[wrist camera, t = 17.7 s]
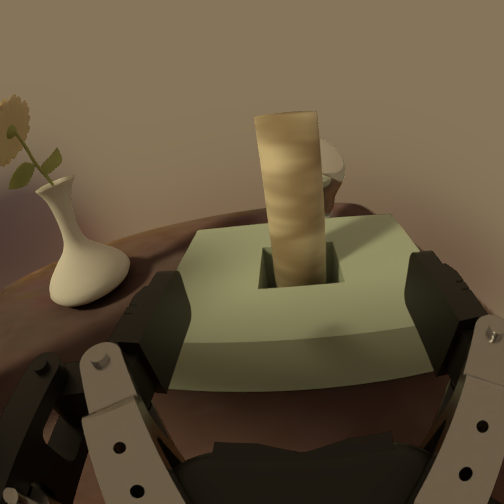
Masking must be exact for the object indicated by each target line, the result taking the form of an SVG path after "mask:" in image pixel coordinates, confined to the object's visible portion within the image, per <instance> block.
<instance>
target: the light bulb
mask: <svg viewBox="0 0 504 504" xmlns="http://www.w3.org/2000/svg"><path fill="white" fill-rule="evenodd" d="M320 150H321V163H322V177H323V193H324V213H325V218H332V212H331V210H332V209H333V206H334V199H335V196H336V193H337V192H338V190H339V188H340V186H341V185H342V182H343V180H344V176H345V163H344V160H343V157H342V155H341V153H340V152H339V150H338V149H337V148H336V147H335V146H334V145H332V144H331V143H329V142H327V141H325V140H321V139H320Z"/></svg>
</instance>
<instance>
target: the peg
mask: <svg viewBox="0 0 504 504" xmlns="http://www.w3.org/2000/svg"><path fill="white" fill-rule="evenodd" d="M254 121H255V128H256V134H257V142H258V149H259V156H260V163H261V171H262V179H263V186H264V194H265V202H266V209H267V217H268V225H269V233H270V241H271V249H272V257H273V266H274V274H275V283H276V288H282V287H295V286H308V285H319V284H326V240H325V213H324V193H323V177H322V163H321V150H320V139H319V129H318V118H317V112H316V111H298V112H285V113H275V114H267V115H261V116H257V117H254Z"/></svg>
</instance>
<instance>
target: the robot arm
mask: <svg viewBox="0 0 504 504" xmlns="http://www.w3.org/2000/svg"><path fill="white" fill-rule="evenodd" d="M404 299H405V304H406V307H407V309H408V312H409V314H410V316H411V318H412V320H413V323H414V325H415V327H416V329H417V331H418V334H419V336H420V338H421V341H422V343H423V345H424V348H425V350H426V353H427V355H428V357H429V360H430V362H431V365H432V367H433V370H434V372H435V375H436V377H437V376H441V375H445V374H448V375H449V377H450V381H449V382H448V385H447V387H446V390H445V392H444V395H443V398H442V400H441V403H440V405H439V408H438V410H437V413H436V415H435V417H434V420H433V422H432V424H431V427H430V429H429V431H428V433H427V435H426V436H425V438H424V440H423V441H422V443H421V445H420V446H419V447H417V446H414V445H410V444H406V443H400V442H393V438H392V433H391V431H390V432H385V433H380V434H374V435H368V436H361V437H354V438H348V439H345V440H343V441H340V442H337V443H334V444H331V445H328V446H325V447H321V448H318V449H315V450H311V451H308V452H296V451H291V450H285V449H280V448H275V447H271V446H266V445H261V444H252V443H224V442H214V448H213V453H207V454H203V455H199V456H196V457H193V458H191V459H188V460H186V461H185V459H184V458H183V456H182V455H181V453H180V452H179V450H178V449H177V447H176V446H175V444H174V442H173V441H172V439H171V437H170V435H169V433H168V431H167V429H166V427H165V425H164V423H163V421H162V419H161V417H160V415H159V413H158V411H157V409H156V407H155V405H154V403H153V401H152V397H153V394H154V392H156V393H166V394H167V391H168V388H169V385H170V382H171V379H172V376H173V373H174V370H175V367H176V364H177V361H178V358H179V355H180V352H181V349H182V346H183V343H184V340H185V337H186V334H187V331H188V328H189V325H190V322H191V306H190V302H189V299H188V296H187V293H186V290H185V286H184V283H183V280H182V277H181V274H180V272H179V271H177V270H176V271H161V272H157V273H156V274H155V276H154V277H153V279H152V281H151V282H150V284H149V286H145V287H144V288H142V289H141V290H140V291H139V292H138V293H137V294H135V296H134V297H133V299H132V301H131V302H130V304H129V307H127V309H126V311H125V312H124V315H123V316H122V317H121V319H120V321H119V322H118V324H117V326H116V328H115V329H114V331H113V333H112V335H111V336H110V338H109V340H108V342H103V343H99V344H97V345H94V346H93V347H91V348H90V349H88V350H87V351H86V352H85V353H84V355H83V356H82V358H81V360H80V361H77V362H71V363H65V364H63V363H62V361H61V360H60V359H59V357H58V356H57V355H56V354H55V353H52V352H47V353H43V354H41V355H39V356H37V357H36V358H35V359H34V360H33V361H32V362H31V363H30V365H29V366H28V368H27V369H26V371H25V373H24V375H23V376H22V378H21V380H20V381H19V383H18V385H17V387H16V389H15V390H14V392H13V394H12V396H11V398H10V400H9V402H8V403H7V405H6V407H5V409H4V411H3V413H2V415H1V417H0V504H73V501H74V497H75V494H76V490H77V487H78V483H79V480H80V476H81V473H82V470H83V467H84V463H85V460H86V457H87V454H88V451H89V454H90V457H91V461H92V464H93V467H94V471H95V474H96V477H97V480H98V483H99V486H100V489H101V492H102V494H103V497H104V500H105V502H106V504H501V503H499V502H498V501H497V500H495V499H494V498H492V497H491V493H492V490H493V488H494V485H495V482H496V479H497V476H498V474H499V470H500V467H501V464H502V461H503V458H504V319H503V318H501V317H499V316H495V315H488V314H487V312H486V311H485V309H484V308H483V307H482V305H481V304H480V302H479V301H478V299H477V298H476V297H475V295H474V294H473V292H472V291H471V290H469V287H468V286H467V284H466V283H465V282H463V279H462V278H461V276H460V275H459V274H458V272H457V271H456V270H454V269H453V268H451V267H450V266H449V265H447V264H442V262H441V261H440V260H439V258H438V257H437V256H436V255H435V253H434V252H433V251H422V252H412V253H411V255H410V258H409V264H408V271H407V277H406V283H405V289H404ZM52 408H53V409H54V410H55V411H56V412H57V413H58V414H59V415H60V416H59V418H58V420H57V423H56V425H55V427H54V430H53V432H52V435H51V437H50V440H49V442H48V445H47V444H46V443H45V441H44V439H43V429H44V426H45V424H46V422H47V420H48V417H49V415H50V413H51V411H52Z"/></svg>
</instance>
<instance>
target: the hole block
mask: <svg viewBox="0 0 504 504" xmlns="http://www.w3.org/2000/svg"><path fill="white" fill-rule="evenodd" d="M325 240H326V284H319V285H308V286H295V287H282V288H276V283H275V274H274V266H273V257H272V249H271V241H270V233H269V225H268V223H266V224H255V225H245V226H235V227H225V228H215V229H205V230H198V231H197V233H196V235H195V237H194V238H193V240H192V242H191V244H190V246H189V248H188V249H187V251H186V253H185V255H184V257H183V259H182V261H181V262H180V264H179V266H178V268H177V271H179V272H180V274H181V277H182V280H183V283H184V286H185V290H186V293H187V296H188V299H189V302H190V306H191V322H190V325H189V328H188V331H187V334H186V337H185V340H184V343H183V346H182V349H181V352H180V355H179V358H178V361H177V364H176V367H175V370H174V373H173V376H172V379H171V382H170V385H169V388H168V389H177V390H193V391H218V392H266V391H291V390H307V389H320V388H331V387H341V386H349V385H357V384H365V383H372V382H379V381H385V380H391V379H397V378H402V377H408V376H413V375H418V374H423V373H428V372H432V371H434V370H433V367H432V365H431V362H430V360H429V357H428V355H427V353H426V350H425V348H424V345H423V343H422V341H421V338H420V336H419V334H418V331H417V329H416V327H415V325H414V323H413V320H412V318H411V316H410V314H409V312H408V309H407V307H406V304H405V299H404V289H405V283H406V277H407V271H408V264H409V258H410V255H411V253H412V252H420V251H419V249H418V248H417V247H416V245H415V244H414V243H413V241H412V240H411V239H410V237H409V236H408V235H407V233H406V232H405V231H404V230H403V229H402V227H401V226H400V225H399V223H398V222H397V221H396V220H395V218H394V217H393V216H392V215H391V214H379V215H364V216H350V217H337V218H325Z"/></svg>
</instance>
